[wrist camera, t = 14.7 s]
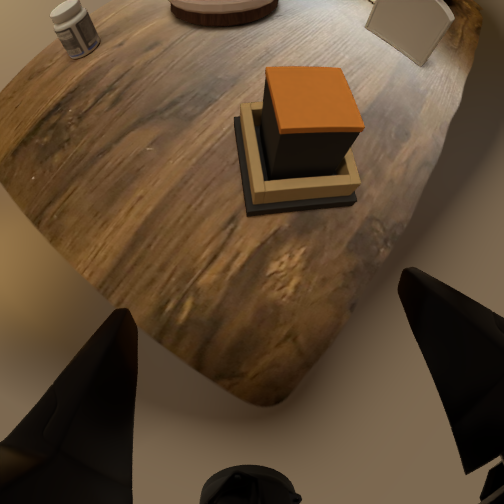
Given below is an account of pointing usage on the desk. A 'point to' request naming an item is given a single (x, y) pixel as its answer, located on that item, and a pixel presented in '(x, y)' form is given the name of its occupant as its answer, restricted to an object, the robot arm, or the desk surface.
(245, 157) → the base pad
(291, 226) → the desk surface
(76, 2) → the pill bottle
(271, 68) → the orange rectangular block
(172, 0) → the mug
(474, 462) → the robot arm
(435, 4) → the gravestone
